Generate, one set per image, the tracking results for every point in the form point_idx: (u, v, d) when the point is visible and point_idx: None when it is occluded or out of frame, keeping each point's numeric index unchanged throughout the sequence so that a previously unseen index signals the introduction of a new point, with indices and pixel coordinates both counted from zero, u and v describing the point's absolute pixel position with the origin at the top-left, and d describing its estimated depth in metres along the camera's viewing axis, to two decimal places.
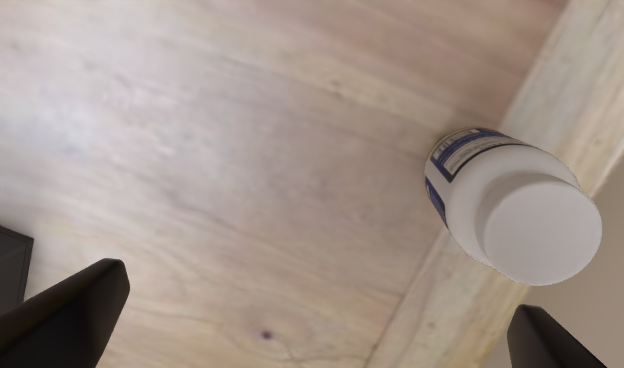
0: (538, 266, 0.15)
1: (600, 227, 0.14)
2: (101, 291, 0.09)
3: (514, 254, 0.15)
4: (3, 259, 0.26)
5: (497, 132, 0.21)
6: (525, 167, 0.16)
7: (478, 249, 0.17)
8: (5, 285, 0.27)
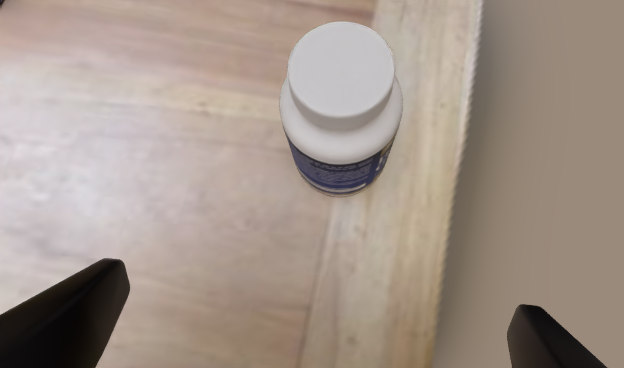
0: (347, 95, 0.15)
1: (388, 48, 0.15)
2: (101, 291, 0.09)
3: (320, 89, 0.15)
4: None
5: None
6: None
7: (313, 135, 0.17)
8: None
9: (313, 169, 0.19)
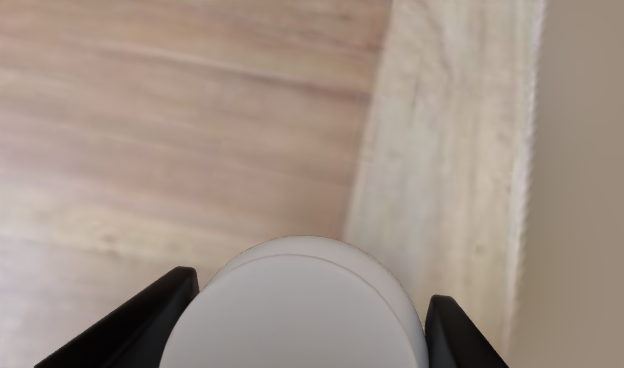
0: None
1: (403, 339, 0.06)
2: (180, 300, 0.09)
3: None
4: None
5: None
6: None
7: None
8: None
9: None
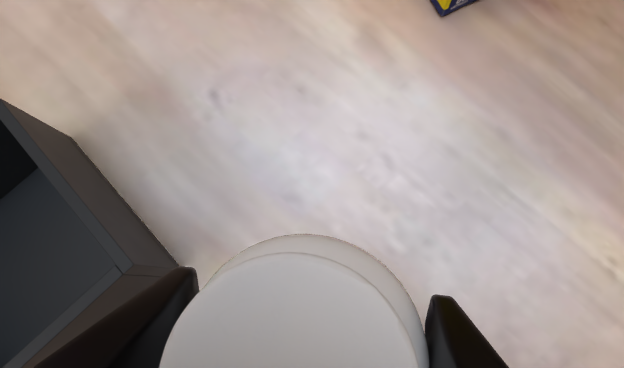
0: None
1: (403, 337, 0.06)
2: (180, 300, 0.09)
3: None
4: (158, 273, 0.20)
5: None
6: None
7: None
8: None
9: None
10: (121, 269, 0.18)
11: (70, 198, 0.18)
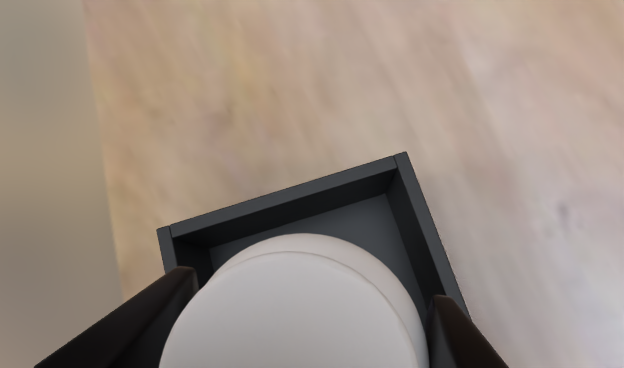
0: None
1: (403, 336, 0.06)
2: (180, 300, 0.09)
3: None
4: None
5: None
6: None
7: None
8: None
9: None
10: None
11: None
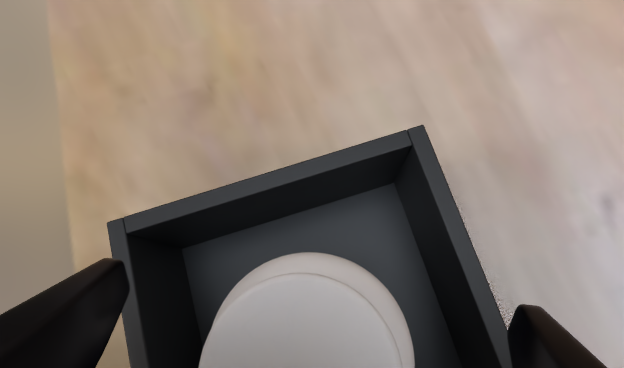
0: None
1: (390, 340, 0.08)
2: (101, 291, 0.09)
3: None
4: None
5: None
6: None
7: None
8: None
9: None
10: None
11: (495, 330, 0.12)
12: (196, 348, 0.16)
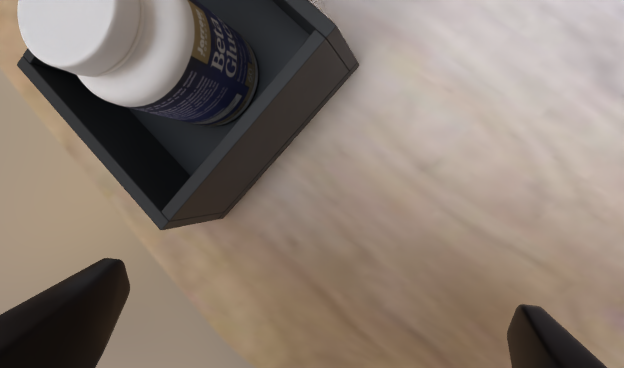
0: (83, 29, 0.13)
1: None
2: (101, 291, 0.09)
3: (58, 40, 0.13)
4: (345, 57, 0.19)
5: None
6: None
7: (111, 86, 0.15)
8: (314, 98, 0.19)
9: (162, 113, 0.18)
10: (322, 34, 0.16)
11: None
12: (143, 132, 0.23)
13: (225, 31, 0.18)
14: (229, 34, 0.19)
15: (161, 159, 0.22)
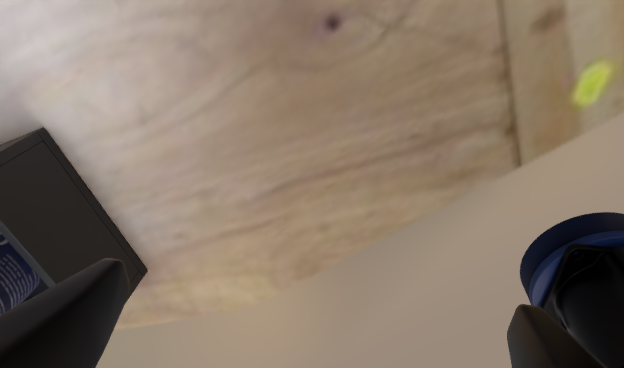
0: None
1: None
2: (101, 291, 0.09)
3: None
4: (16, 151, 0.21)
5: None
6: None
7: None
8: (51, 183, 0.23)
9: (18, 300, 0.23)
10: None
11: None
12: None
13: None
14: None
15: None
